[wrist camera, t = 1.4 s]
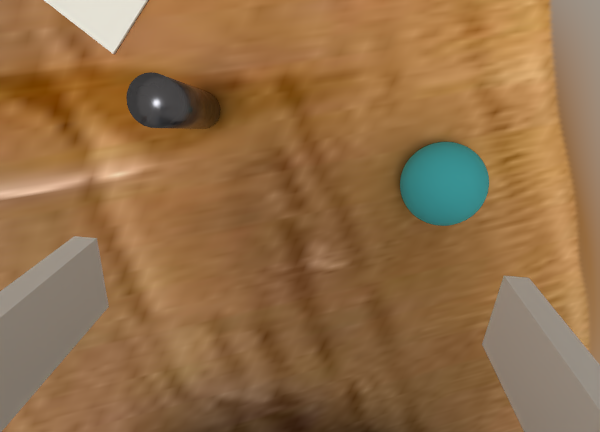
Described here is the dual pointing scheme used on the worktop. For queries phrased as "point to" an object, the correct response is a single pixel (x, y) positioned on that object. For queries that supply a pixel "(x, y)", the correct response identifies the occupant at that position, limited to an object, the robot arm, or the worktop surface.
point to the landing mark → (102, 18)
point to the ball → (444, 183)
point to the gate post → (170, 103)
